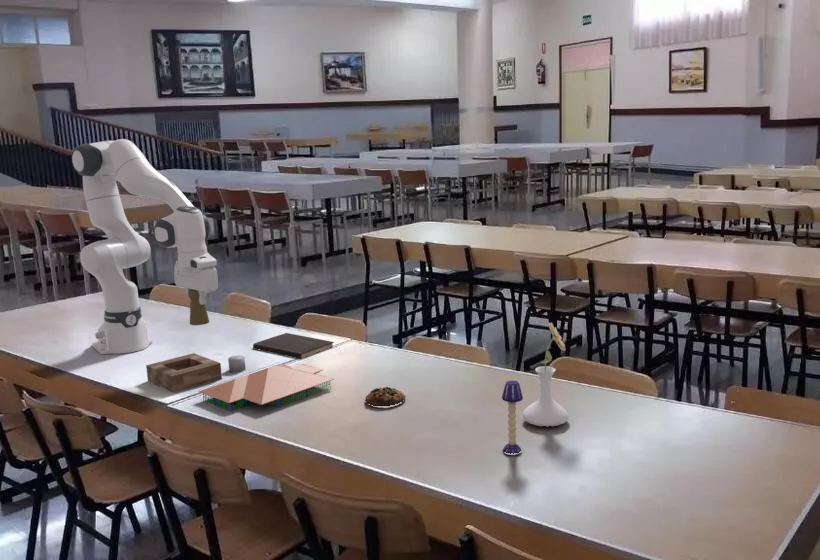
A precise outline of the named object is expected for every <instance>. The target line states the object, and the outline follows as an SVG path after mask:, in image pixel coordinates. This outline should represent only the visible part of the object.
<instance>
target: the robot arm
mask: <svg viewBox="0 0 820 560" xmlns="http://www.w3.org/2000/svg"><path fill="white" fill-rule="evenodd" d="M71 164H72V167H73V169H74V170H75V172H77V174H78V175H79V176H82V188H83V189H82V190H83V194H84V195H83V196H84V199H85V204H86V208H87V212H88V216H89V221H90V222H91V224H92V226H93V227H95V228H97V229H100V230H101V231H103V233H104V234H105V235H106V237H107V239H102V240H97V241H95V242H91V243H89V244H88V245H85V246H84V247H82V249H81V252H80V257H79V258H80V263H81V266H82V267H83V268H84V270H85V271H86V272H88V273H89V274H91V275H92V276H93V277H95V278H96V280H97V282H98V283H99V285H100V287H101V290H102V294H103V301H104V307H105V308H104V309H105V310H104V314H103V317H104V318H103V320H104V321H103V323H102V324H101V325H100V326H99V328H98V329H97V331H96V332H95V334H94V335H95V339H97V340H95V341H93V342H92V343H91V346H92V347H93V348H94V349H95V350H96V351H97V352H98V354H100V355H109V354H111V355H112V354H128V353H133V352H138V351H142V350H144V349H146V348H148V347H149V345H151V344H153V339H152V338H149V332H148V327H147V323H146V321H145V320H144V319H142V317H143V316H142V309H141V306H140V301H139V292H138V291H139V290H138V286H137V285H136V284H135V283H134V282H133V281H131V280H129V279H127V278H126V277H125V274H124V269H125V270H126V269H129V268H133V267H137V266H140V265H141V264H143V263H145V262H147V261H148V260H149V259H150V257H151V253H152V252H151V251H152V250H151V245H150V243H149V241H148V239H146V238H145V237H144V236H143V235H140V234H139V233H138V232H136V230H135V229H134V228H133V227H132V225H131V224H130V222H129V221H128V218H127V216H126V214H125V211H124V207H123V203H122V200H121V195H120V191H119V187H118V186H117V185H118V184H117V181H118V182H119V183H120V185H121V187H122V188H124V189H125V190H126V191H127V193H129V194H131V195H134V196H137V197H145V198H151V199H155V200H159V201H161V202H163V203H165V204H167V205H168V206H169V207H170V209H172V211H173V212H172V213H171V214H169V215H167V216H165V217H163V218H159V219H158V220H156V222H155V224H154V227H153V236H154V237H153V238H154V239H155V242H156V243H157V244H158V245H159V246H160V247H162V248H163V249H165V248H167V249H171V248H177V251H176V252H177V259H176V260H175V264H174V267H173V272H174V275H173V277H174V278H173V279H174V280H173V281H174V284H175V286H177V287H181V288H185V292H186V295H187V297H188V302H191V300H190V298H189V296H188V292H189V290H190V289H193V290H197V291H198V292H199V294H200V296H199V299H198V304H200V305H203V304H205V305H206V303H207V302H206V301H207V300H206V298H207V295H208V294H210V293H214V292H217V290H218V288H219V287H218V286H219V283H218V282H219V280H218V270H217V269H216V267H217V266H218V265H217V264H218V262H217V259H216V258H215V257H213V256H212V255H211V254H210V253H209V252H208V247H207V244H206V242H207V241H208V239H209V238H210V235H211V231H212V226H211V223H210V220H209V219H208V217H207V216H205V215H204V213H202V211H201V209H199V208H198V207H196V206H194V204H193V203H191V201H190V200H189V199H188V198H187V196H186V195H185V194H184V193H183V192H182V191H181V190H180V189H179V187H177V185H176V184H175V183H174V182H173V181H172V180H170V178H167V177H166V176H164V175H163V174H161V173H160V172H159V171H157V169H156V168H154V167H153V165H151V163H150V162H149V161H148V159H147V158H146V156H145V155H144V153H143V152H142V151H141V150H140V149H139V147H138V146H137V145H136V144H135V143H134V142H133V141H131V140H129V139H125V138H121V139H116V140H103V141H98V142H91V143H83V144H80V145H76V147H74V149H73V150H72V153H71Z"/></svg>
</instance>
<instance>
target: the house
mask: <svg viewBox="0 0 820 560" xmlns="http://www.w3.org/2000/svg"><path fill="white" fill-rule="evenodd" d="M323 371H324V369H323V368H319V367H315V366H311V365H308V364H304V363H300V364H297V365H293V366H291V365H287V364H278V365H273V366H271V367H267V368H264V369H261V370H259V371H255V372H253V373H250V374H247V375H244V376H240V377H237V378H233V379H231V380H228V381H225V382H222V383H219V384H216V385H213V386H211V387H208V388H204V389H201V390H199V391H197V392H198V393H200V394H202V398H203V402H206V403H207V402H209V403H210V404H212V405H214V406H221V408H222V409H224V407H226V410H230V411H229V412H232V409H233V411H234V410H235V409H234V408H235V407H236V406H238V407H237V408H239V409H240V406H239V405H241V407H243V408H244V407H246V406H248V405H249V403H250V405H252V403H253V404H257V405H261V406H262V405H266V404H270V405H271V404H272V405H274V406H275V407H277V408H280V407H283V406H282V403H283V404H285V402H286V401H288V402H287V404H289V400H290V402H292V397H294V395H295V394H296V393H297V394H296V395H295V398H296V397H297V398H296V399H297V400H299V398H298V397H301V396H303V398H304V397H305V398H307V396H309V395H310V396H311V394H313V390H314V391H317V390H320V391H321V390H323V391H324V390H326V387H327V389H328V388H329V389H330V386H331V381H334V379H335V378H332V377H328V376H325V375H322V374H318V373H320V372H323ZM318 386H320V387H318ZM314 387H317V388H314ZM323 387H324V388H323ZM312 388H313V389H312ZM321 392H322V391H321ZM310 393H311V394H310ZM308 394H309V395H308ZM291 396H292V397H291ZM287 397H289V398H287ZM284 398H285V399H284ZM281 399H282V400H281ZM296 399H294V402H296V401H297V400H296ZM280 400H281V402H280ZM284 401H285V402H284ZM234 402H235V405H234V404H233V403H234ZM237 402H238V403H237ZM275 403H276V404H275ZM231 404H232V405H231ZM280 404H281V405H280Z"/></svg>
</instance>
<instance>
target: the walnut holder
mask: <svg viewBox="0 0 820 560" xmlns="http://www.w3.org/2000/svg"><path fill="white" fill-rule="evenodd" d="M146 375H147V376H146V377H147V382H149V381H150V383H151V382H152V384H153V383H154V384H153V385H156V386H158V387H160V386H161V387H160V388H162V387H163V389H164V388H165V389H164V390H167V391H169V392H171V393H173V392H174V393H177V392H180V391H184V390H187V389H190V388H194V387H197V386H201V385H205V384H209V383H212V382H216V381H219V380H222V379H223V376H222V375H223V374H222V365H221V362H219V361H216V360H213V359H210V358H208V357H205V356H202V355H199V354H197V353H195V352H194V353H189V354H185V355H182V356H178V357H173V358H170V359H166V360H162V361H159V362H158V361H157V362H154V363H149V364H146Z"/></svg>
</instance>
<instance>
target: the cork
mask: <svg viewBox="0 0 820 560" xmlns="http://www.w3.org/2000/svg"><path fill="white" fill-rule="evenodd" d="M188 296H189V297H188ZM199 296H200V294H199V292H198V291H197V290H193V289H190V290H189V292H188V295H187V297H188V299H189V298H190V300H191V302H190V308H189V309H190V311H189V325H190V326H202V325H207V324H209V323H210V318H209V314H208V310H207V306H206V303H205V304H203V305H200V304H198V299H199Z"/></svg>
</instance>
